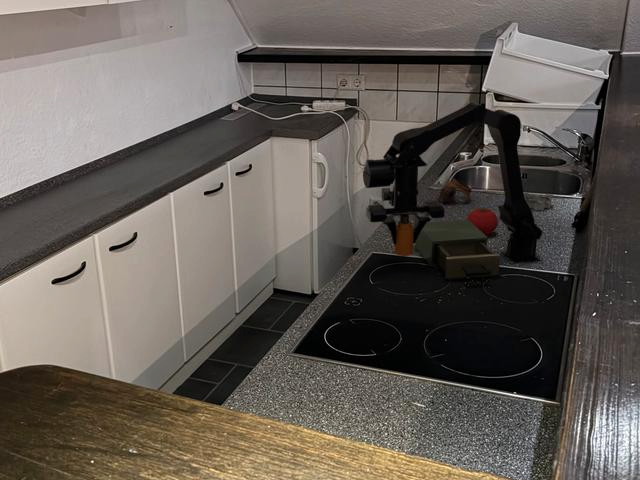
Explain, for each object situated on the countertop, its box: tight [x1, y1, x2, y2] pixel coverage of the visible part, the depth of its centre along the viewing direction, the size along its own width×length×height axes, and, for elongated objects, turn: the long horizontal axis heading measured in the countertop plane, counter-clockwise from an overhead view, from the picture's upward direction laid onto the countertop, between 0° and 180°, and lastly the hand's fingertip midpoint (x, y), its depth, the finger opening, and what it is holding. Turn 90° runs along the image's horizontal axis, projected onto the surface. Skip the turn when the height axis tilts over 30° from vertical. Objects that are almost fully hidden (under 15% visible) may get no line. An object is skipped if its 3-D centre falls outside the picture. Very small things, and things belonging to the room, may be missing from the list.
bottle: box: [394, 215, 414, 257], centre depth 192 cm, size 5×5×10 cm
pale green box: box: [415, 219, 488, 268], centre depth 204 cm, size 15×15×7 cm
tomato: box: [466, 207, 499, 236], centre depth 218 cm, size 9×9×8 cm
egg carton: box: [524, 191, 554, 211], centre depth 241 cm, size 11×8×4 cm
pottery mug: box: [437, 178, 473, 204], centre depth 247 cm, size 12×10×8 cm
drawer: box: [435, 241, 501, 280], centre depth 192 cm, size 18×13×5 cm
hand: (404, 243), depth 193 cm, fingers closed on bottle, 5 cm apart
